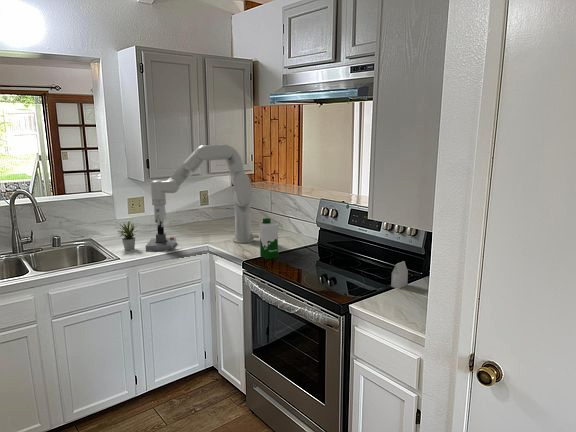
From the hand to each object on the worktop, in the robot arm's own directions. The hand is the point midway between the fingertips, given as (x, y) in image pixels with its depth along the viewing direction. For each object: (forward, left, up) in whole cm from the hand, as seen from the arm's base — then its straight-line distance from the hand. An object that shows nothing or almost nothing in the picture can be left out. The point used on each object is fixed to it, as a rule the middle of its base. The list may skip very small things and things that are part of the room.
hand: (160, 233), depth 246 cm
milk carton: (-60, +30, -8) cm, 68 cm away
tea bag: (-111, +81, -8) cm, 138 cm away
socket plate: (0, 0, -8) cm, 8 cm away
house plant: (+18, +2, -8) cm, 20 cm away
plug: (0, 0, -8) cm, 8 cm away
